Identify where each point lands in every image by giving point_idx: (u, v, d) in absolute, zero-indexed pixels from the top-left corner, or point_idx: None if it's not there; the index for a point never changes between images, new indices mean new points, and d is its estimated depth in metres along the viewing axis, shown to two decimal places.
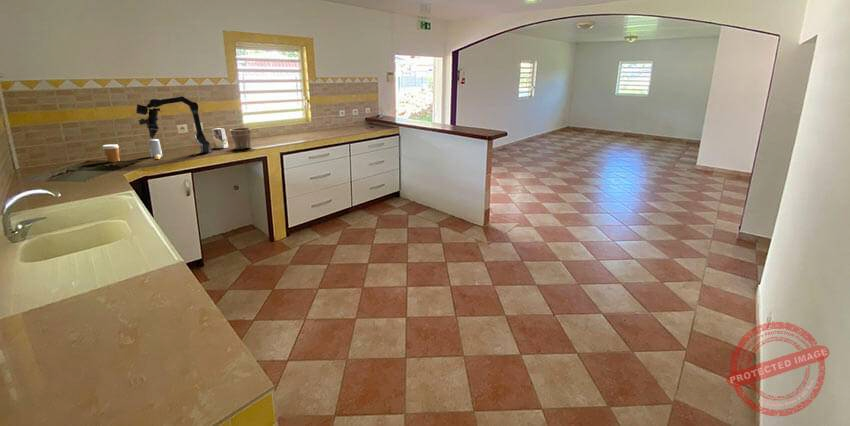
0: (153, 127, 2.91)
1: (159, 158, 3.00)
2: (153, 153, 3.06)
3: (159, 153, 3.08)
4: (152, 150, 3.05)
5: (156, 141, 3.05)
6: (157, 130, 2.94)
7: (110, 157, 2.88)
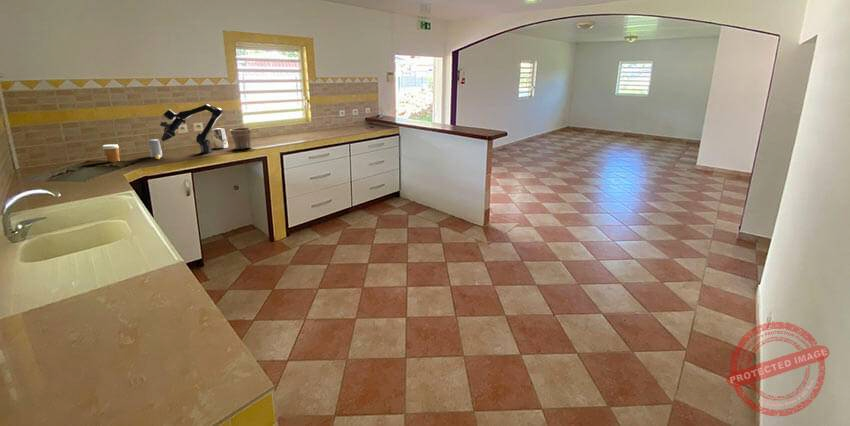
0: (170, 133, 3.04)
1: (159, 158, 3.00)
2: (153, 153, 3.06)
3: (159, 153, 3.08)
4: (152, 150, 3.05)
5: (156, 141, 3.05)
6: None
7: (110, 157, 2.88)
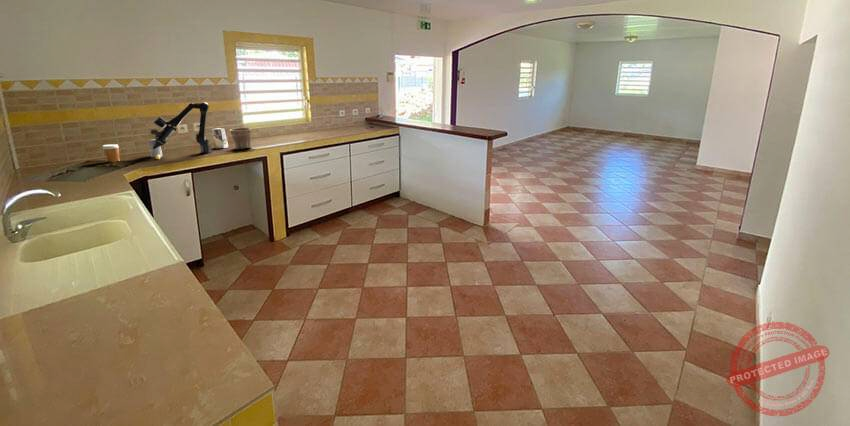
0: (161, 141, 3.01)
1: (159, 158, 3.00)
2: (153, 153, 3.06)
3: (159, 153, 3.08)
4: (152, 150, 3.05)
5: None
6: (162, 144, 3.04)
7: (110, 157, 2.88)
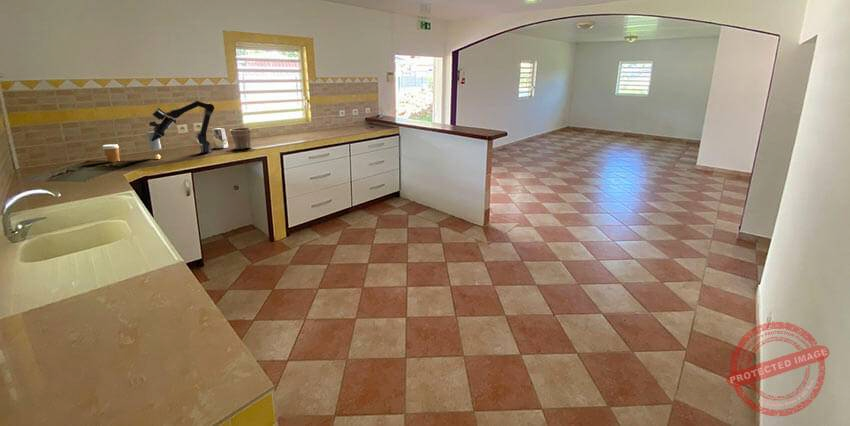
0: (159, 133, 2.93)
1: (159, 158, 3.00)
2: (152, 145, 2.98)
3: (158, 145, 3.00)
4: (150, 142, 2.97)
5: None
6: (161, 136, 2.96)
7: (110, 157, 2.88)
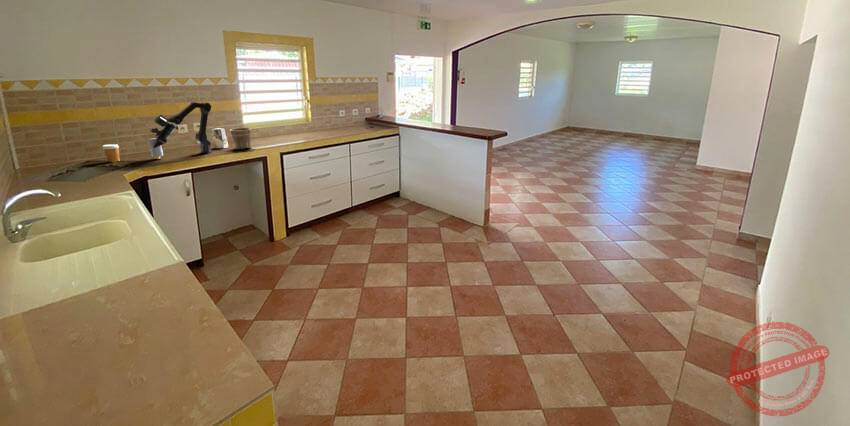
0: (162, 139, 2.91)
1: (159, 158, 3.00)
2: (154, 152, 2.95)
3: (160, 152, 2.98)
4: (153, 149, 2.95)
5: None
6: (163, 143, 2.94)
7: (110, 157, 2.88)
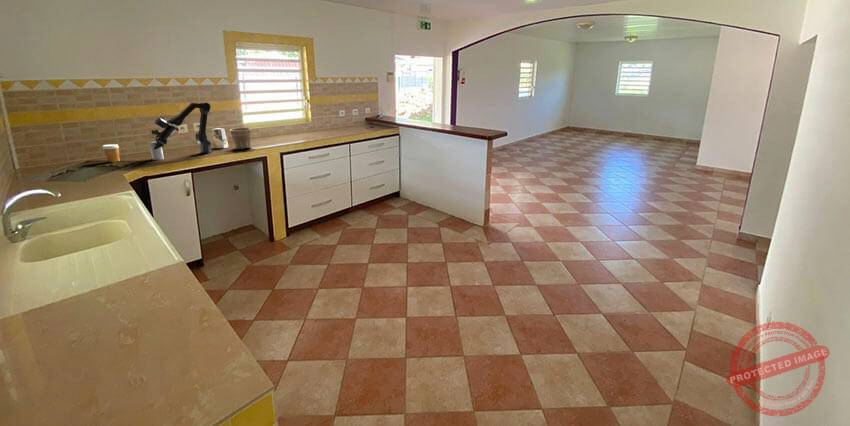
0: (162, 141, 2.91)
1: None
2: (154, 156, 2.96)
3: (160, 156, 2.98)
4: (153, 153, 2.95)
5: None
6: None
7: (110, 157, 2.88)
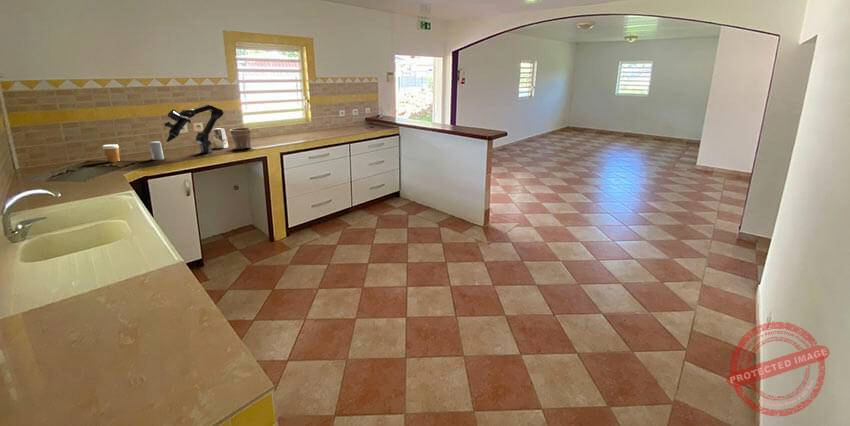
0: (174, 133, 2.95)
1: None
2: (154, 156, 2.96)
3: (160, 156, 2.98)
4: (153, 153, 2.95)
5: (157, 143, 2.95)
6: None
7: (110, 157, 2.88)
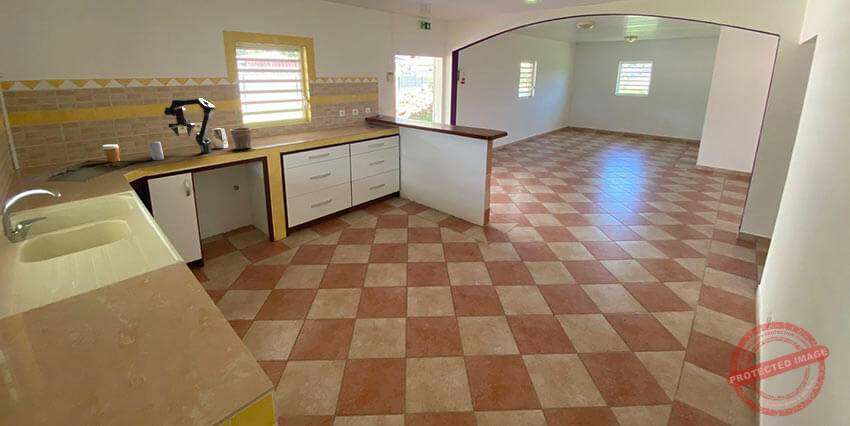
0: None
1: None
2: (154, 156, 2.96)
3: (160, 156, 2.98)
4: (153, 153, 2.95)
5: (157, 143, 2.95)
6: None
7: (110, 157, 2.88)
